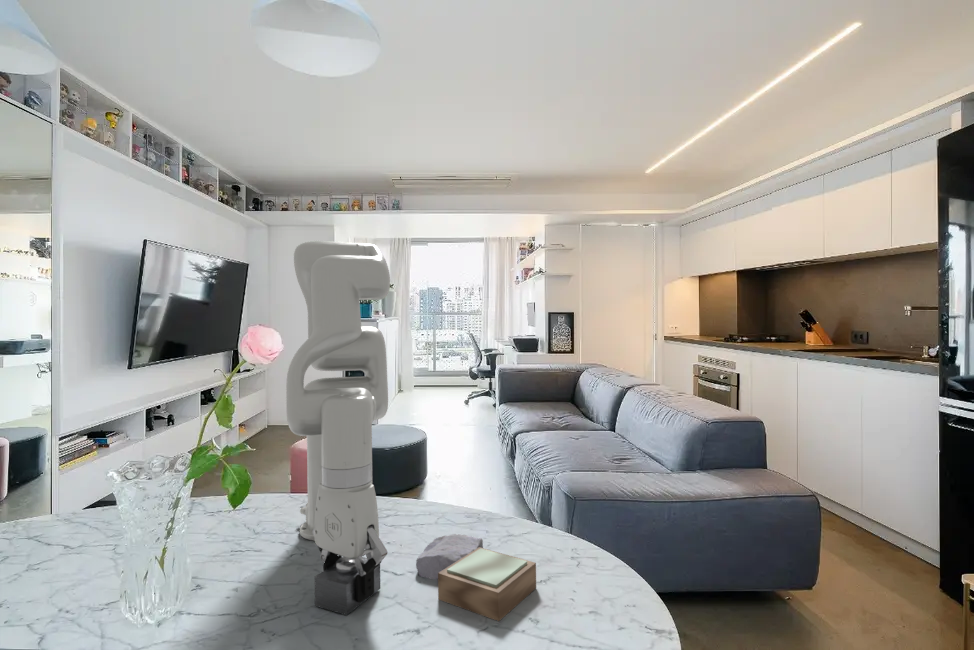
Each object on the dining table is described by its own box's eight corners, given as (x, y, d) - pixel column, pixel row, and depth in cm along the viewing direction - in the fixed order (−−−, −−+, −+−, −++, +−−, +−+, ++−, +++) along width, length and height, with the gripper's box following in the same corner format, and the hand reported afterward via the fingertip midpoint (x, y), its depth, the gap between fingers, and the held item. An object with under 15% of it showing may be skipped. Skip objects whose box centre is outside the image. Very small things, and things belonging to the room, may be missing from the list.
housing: (314, 605, 76) (314, 568, 76) (350, 581, 83) (350, 546, 83) (346, 615, 73) (346, 576, 73) (380, 588, 81) (380, 553, 81)
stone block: (413, 589, 85) (469, 583, 83) (408, 559, 85) (463, 553, 83) (438, 560, 96) (488, 554, 94) (433, 534, 97) (482, 528, 95)
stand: (438, 599, 78) (437, 570, 78) (479, 570, 87) (479, 544, 87) (498, 621, 72) (498, 589, 72) (536, 588, 81) (535, 560, 81)
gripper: (291, 472, 80) (292, 586, 80) (368, 491, 70) (369, 621, 70) (330, 461, 86) (331, 567, 86) (405, 477, 77) (406, 596, 77)
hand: (348, 590), depth 78 cm, fingers closed on housing, 6 cm apart
